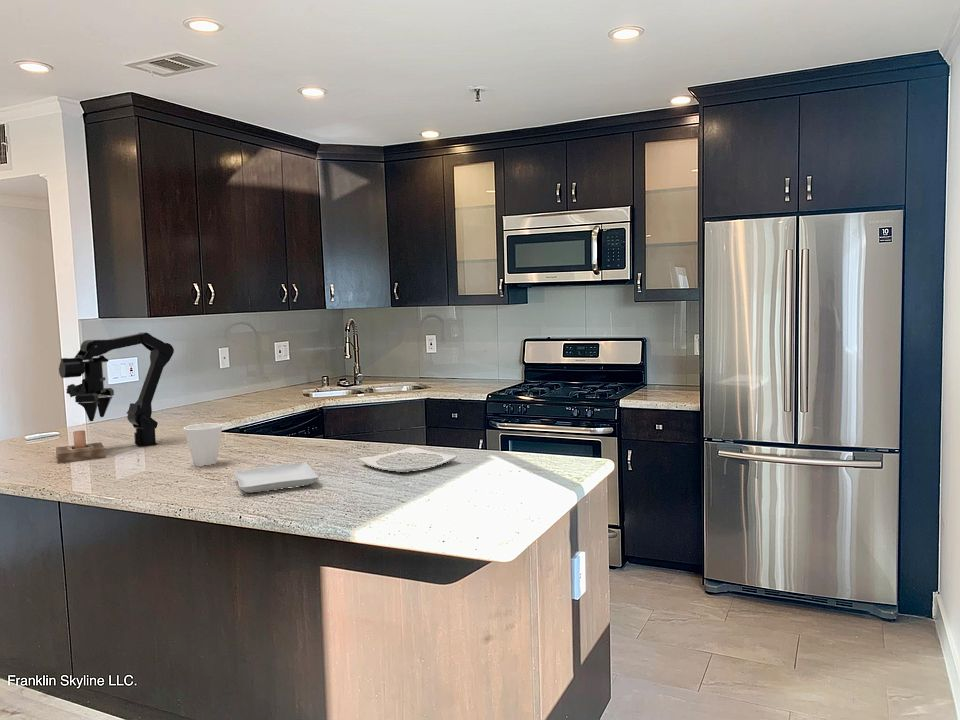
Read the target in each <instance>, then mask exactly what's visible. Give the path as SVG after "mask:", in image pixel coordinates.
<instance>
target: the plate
mask: <svg viewBox="0 0 960 720" xmlns="http://www.w3.org/2000/svg"><path fill="white" fill-rule="evenodd" d="M405 452H410V453H427V454H437V455H440V456H442V457H443V459H444V460H443V461H442V462H440V463H437V464H433V465H428V466H423V467H418V468H388V467H382V466H379V465H377V463H376V461H378V460H379V459H380V458H383V457H386V456H390V455H393V454H397V453H405ZM457 458H458V455H454V454H445V453H440V452H435V451H429V450H426V449H422V448H419V447H414V446H410V447H408V448H407V447H406V448H403V449H401V450H397V451H394V452H388V453H383V454H378V455H374V456H365V457H358V461H360V462H361V463H362V464H364V465H367V466H368V467H370V466H371V468H373V467H374V469H377V468H378V469H377V470H380V469H382V470H381V471H383V470H388V471H387V472H389V471H396V472H395V473H400V472H406V473H408V472H407V471H413V470H419V469H423V468H428V467H432V466H436V465H440V464H443V463H446V462H448V463H450V462H449V461H451V462H453V461H455V460H456V459H457ZM452 460H453V461H452ZM446 464H447V463H446Z"/></svg>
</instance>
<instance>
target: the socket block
mask: <svg viewBox="0 0 960 720" xmlns="http://www.w3.org/2000/svg"><path fill="white" fill-rule="evenodd" d="M55 450H56V460H57V464H65V463H73V462H82V461H90V460H96V459H98V460H99V459H105V458H106V448H105V446H104V445H103V443H102V441H101V442H93V443H86V448H79V449H74V444H73V445H65V446H57V447H55Z"/></svg>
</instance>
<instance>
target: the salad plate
mask: <svg viewBox="0 0 960 720" xmlns="http://www.w3.org/2000/svg"><path fill="white" fill-rule="evenodd" d="M232 472H233V475H234V476H235V478H236V480H237V484H238V488H239V489H240V490H242V492H245V493H248V494H249V493H250V494H252V493H253V492H259V493H262V492H261V491H267V490H274V489H281V488H288V487H296V486H303V485H306V486H309V484H310V485H313V483H315V482H317V481H318V480H319V478H320V477H319V475H318V474H317V473H316V472H315V470H313V468H312V467H311V466H310V465H309V464H308V463H307V461H306V462H305V461H303V462H296V463H288V464H286V463H285V464H279V465H270V466H269V465H268V466H263V467H256V468H255V467H254V468H248V469H242V470H234V471H232ZM267 492H268V491H267ZM253 494H254V493H253Z"/></svg>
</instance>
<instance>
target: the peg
mask: <svg viewBox="0 0 960 720" xmlns="http://www.w3.org/2000/svg"><path fill="white" fill-rule="evenodd" d="M72 433H73V434H72V435H73V445H74V449H79V448H86V444H87V442H86V440H87V439H86V430H83V429H82V430H76V431H75V430H74V431H72Z"/></svg>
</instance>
